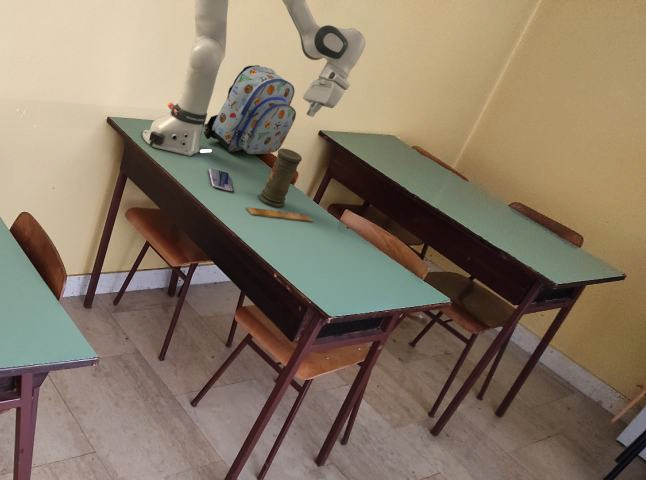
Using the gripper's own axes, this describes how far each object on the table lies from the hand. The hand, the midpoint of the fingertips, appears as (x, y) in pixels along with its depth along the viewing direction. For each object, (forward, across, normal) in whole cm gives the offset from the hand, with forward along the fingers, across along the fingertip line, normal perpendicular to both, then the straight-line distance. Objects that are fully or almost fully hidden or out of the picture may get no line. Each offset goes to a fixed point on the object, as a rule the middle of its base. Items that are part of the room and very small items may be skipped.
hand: (309, 115), depth 214 cm
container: (+32, +9, +1) cm, 33 cm away
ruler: (+34, +18, +2) cm, 39 cm away
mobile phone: (+35, 0, -17) cm, 39 cm away
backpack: (+20, -36, -1) cm, 42 cm away
